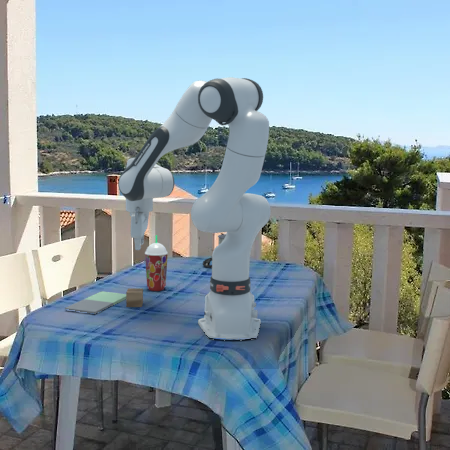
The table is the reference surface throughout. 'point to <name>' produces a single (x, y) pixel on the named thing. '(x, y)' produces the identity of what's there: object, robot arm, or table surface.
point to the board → (97, 302)
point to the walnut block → (134, 297)
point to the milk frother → (207, 261)
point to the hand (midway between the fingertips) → (139, 247)
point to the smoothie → (156, 266)
